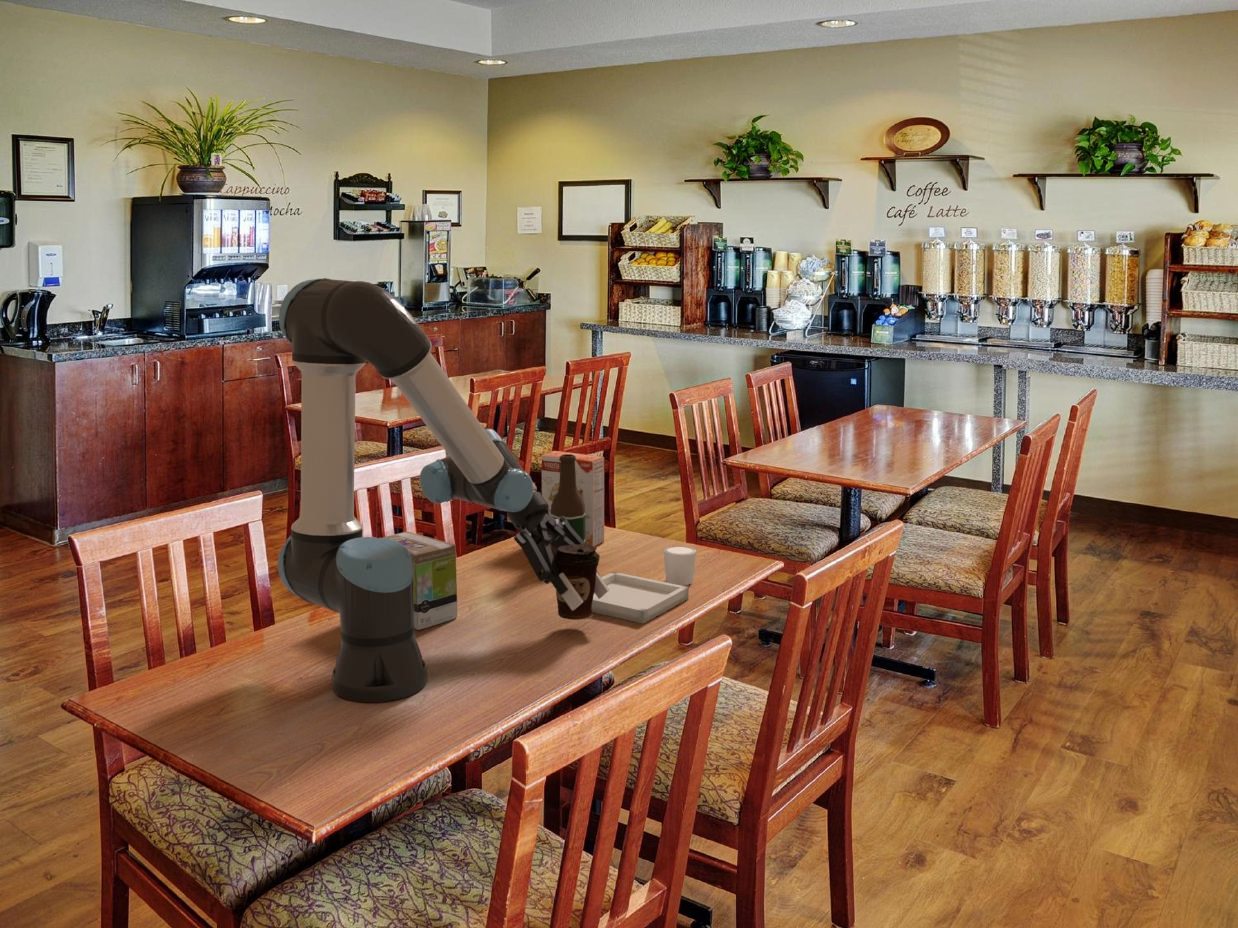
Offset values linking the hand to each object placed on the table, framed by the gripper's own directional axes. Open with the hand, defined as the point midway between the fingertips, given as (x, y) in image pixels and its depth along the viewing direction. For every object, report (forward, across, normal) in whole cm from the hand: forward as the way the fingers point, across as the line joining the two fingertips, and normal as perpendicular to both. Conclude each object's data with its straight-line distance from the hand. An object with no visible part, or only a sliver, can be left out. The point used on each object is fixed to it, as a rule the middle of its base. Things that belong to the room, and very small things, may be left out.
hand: (591, 600), depth 204 cm
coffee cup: (0, 0, -5) cm, 5 cm away
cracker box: (-22, -47, -30) cm, 60 cm away
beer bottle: (-17, -34, -25) cm, 45 cm away
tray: (+2, -18, -6) cm, 19 cm away
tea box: (-19, +11, -28) cm, 36 cm away
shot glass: (+3, -35, -5) cm, 35 cm away
